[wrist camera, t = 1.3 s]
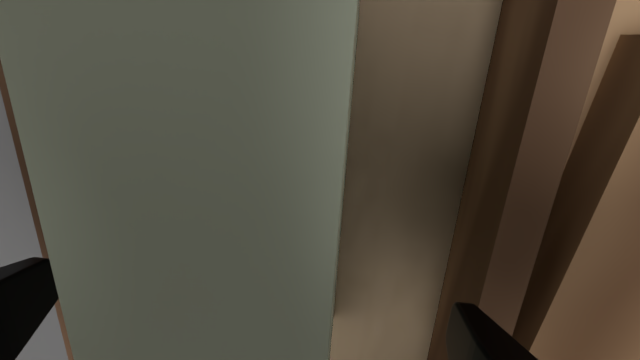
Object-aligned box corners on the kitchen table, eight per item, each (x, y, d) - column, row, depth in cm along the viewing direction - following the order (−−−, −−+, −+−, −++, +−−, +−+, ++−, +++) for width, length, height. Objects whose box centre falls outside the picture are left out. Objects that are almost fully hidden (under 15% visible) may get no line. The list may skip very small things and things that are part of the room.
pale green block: (359, 16, 12) (360, -30, 4) (333, 315, 16) (307, 608, 8) (236, 9, 12) (-26, -49, 4) (243, 305, 17) (127, 578, 8)
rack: (922, -137, 9) (1221, -229, 6) (630, 425, 17) (696, 519, 14) (41, -159, 11) (-92, -240, 8) (131, 363, 18) (82, 433, 15)
